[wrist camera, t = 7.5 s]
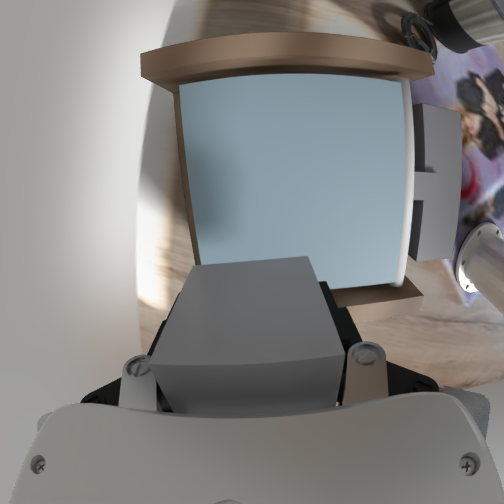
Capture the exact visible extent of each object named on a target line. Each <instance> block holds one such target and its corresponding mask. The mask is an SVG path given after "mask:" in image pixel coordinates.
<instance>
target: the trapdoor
mask: <svg viewBox="0 0 504 504" xmlns="http://www.w3.org/2000/svg"><path fill="white" fill-rule="evenodd" d="M179 90H180V103H181V115H182V126H183V136H184V145H185V155H186V163H187V172H188V180H189V187H190V195H191V202H192V209H193V216H194V223H195V229H196V236H197V242H198V248H199V254H200V260H201V265H207V264H219V263H231V262H243V261H254V260H266V259H277V258H288V257H300V256H308V258H309V260H310V262H311V265H312V267H313V270H314V272H315V275H316V277H317V280H318V282H320V281H326V282H327V284H328V286H329V288H330V289H339V288H349V287H359V286H368V285H377V284H385V283H388V284H389V285H391V286H393V287H401V286H402V285H403V280H404V274H405V269H406V262H407V256H408V255H409V256H410V257H412V258H413V259H414V260H415V261H416V262H418V261H428V260H437V259H445V258H452V254H453V249H454V243H455V237H456V231H457V224H458V216H459V207H460V196H461V182H462V125H461V112H457V111H453V110H449V109H445V108H441V107H437V106H432V105H428V104H423V103H422V104H415V105H412V100H411V91H410V83H409V79H407V78H403V77H395V78H392V81H387V80H380V79H373V78H365V77H356V76H345V75H330V74H266V75H251V76H239V77H230V78H222V79H214V80H207V81H201V82H195V83H189V84H184V85H179Z"/></svg>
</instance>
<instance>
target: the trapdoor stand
mask: <svg viewBox="0 0 504 504" xmlns="http://www.w3.org/2000/svg"><path fill="white" fill-rule="evenodd" d="M140 55H141V77H143V78H145V79H147V80H149V81H151V82H153V83H155V84H157V85H159V86H161V87H163V88H165V89H167V90H169V91H170V92H172V93H173V95H174V108H175V119H176V130H177V140H178V149H179V158H180V166H181V174H182V182H183V189H184V196H185V203H186V210H187V217H188V223H189V230H190V236H191V242H192V248H193V253H194V259H195V265H201V260H200V254H199V248H198V242H197V236H196V229H195V223H194V216H193V209H192V202H191V195H190V187H189V180H188V172H187V163H186V155H185V145H184V136H183V126H182V115H181V103H180V90H179V85H184V84H189V83H195V82H201V81H207V80H214V79H222V78H230V77H239V76H251V75H266V74H330V75H345V76H356V77H365V78H373V79H380V80H387V81H392V78H395V77H403V78H407V79H409V82H411V81H414V80H417V79H421V78H424V77H428V76H431V75H435V73H434V67H433V62H432V56H431V53H428V52H425V51H421V50H418V49H414V48H410V47H407V46H402V45H398V44H394V43H389V42H384V41H379V40H374V39H368V38H362V37H355V36H347V35H338V34H327V33H311V32H264V33H248V34H237V35H228V36H220V37H213V38H206V39H200V40H195V41H190V42H185V43H180V44H175V45H171V46H167V47H163V48H159V49H155V50H152V51H148V52H145V53H141V54H140ZM330 290H331V293H332V295H333V297H334V300H335V302H336V304H337V306H338V308H339V307H347V309H348V311H349V313H350V315H351V317H352V319H353V321H354V324H355V323H362V322H369V321H376V320H382V319H388V318H394V317H400V316H405V315H411V314H416V313H419V312H420V308H421V304H422V300H423V296H424V295H423V294H422V293H421V292H420V291H419V290H418V289H417V288H416V287H415V285H414V284H413V283H412V282H411V281H410V280H409V279H408V278H407V277H406V276H405V275H404V280H403V285H402V286H401V287H393V286H391V285H389V284H388V283H385V284H377V285H368V286H359V287H349V288H339V289H330Z"/></svg>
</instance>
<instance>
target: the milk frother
mask: <svg viewBox="0 0 504 504" xmlns="http://www.w3.org/2000/svg"><path fill="white" fill-rule="evenodd" d="M425 17H426V20H425V19H424V18H422V17H421V16H419V15H418V14H415V13H412V12H410V13H405V14H404V15H403V16H402V19H401V28H402V33H403V36H404V40H405V42H406V45H407V47H410V48H414V49H418V50H421V51H425V52H428V53H431V56H432V62H433V64H434V63H436V62H435V61H436V59H437V46H436V42H435V40H434V37H433V35H432V33H431V31H430V29H431V30H432V32H433V33H434V35H435V36H436V37H437V38H438V39H439V41H440V42H441V43H442V44H443V45H445V46H446V47H447V48H448V49H450V50H452V51H454V52H456V53H460V54H462V53H466V52H467V51H468V50H471V49H474V48H477V47H481V46H485V45H489V44H494V43H499V42H504V0H433V1H432V3H429V4H428V5H427V6H426V7H425ZM424 21H425V22H426V23H428V25H429V27H430V29H429V27H428V26H427V25H426V23H425V22H424ZM412 22H415V23H417V24H418V25H419V26H420V27H421V28H422V29H423V31H424V32H425V34H426V36H427V38H428V41H429V45H430V48H429V47H428V46H427V45H426V44H425V43H424V42H423V41H422V40H421V39H418V38H417V37H416V35H415V34H414V33H412V31H411V24H412Z"/></svg>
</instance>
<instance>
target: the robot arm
mask: <svg viewBox="0 0 504 504" xmlns="http://www.w3.org/2000/svg"><path fill="white" fill-rule="evenodd" d="M456 278H457V282H458V284H459V285H460V287H461V288H462V289H464V290H465V291H467V292H475V291H479V292H480V293H481V294H482V295H483V296H485V297H486V298H487V299H488V300H489V301H490V302H491V303H492V304H493V305H494V306H495V307H496V308H497V309H498V310H499V311H500V312H501V313H502V314H503V315H504V240H503V236H502V233H501V231H500V229H499V228H498V227H497V226H496V225H494V224H493V223H490V222H484V223H481V224H479V225H478V226H476V227H475V228H474V229H473V230H472V231H471V232H470V233H469V235H468V236H467V238H466V239H465V241H464V243H463V245H462V247H461V249H460V252H459V255H458V258H457V263H456ZM319 285H320V287H321V290H322V293H323V295H324V298H325V300H326V303H327V306H328V308H329V311H330V313H331V316H332V319H333V322H334V324H335V327H336V330H337V332H338V335H339V338H340V341H341V344H342V346H343V349H344V352H345V358H344V365H343V370H342V376H341V381H340V387H339V392H338V397H337V402H338V406H336V407H329V408H323V409H315V410H307V411H298V412H288V413H275V414H257V415H200V414H182V413H174V412H173V410H172V408H171V407H170V405H169V403H168V401H167V399H166V398H165V396H164V394H163V392H162V390H161V388H160V386H159V384H158V382H157V380H156V378H155V376H154V374H153V372H152V370H151V368H150V366H149V364H148V363H149V361H150V359H151V356H152V354H153V352H154V349H155V347H156V345H157V343H158V340H159V338H160V336H161V334H162V331H163V329H164V327H165V325H166V322H167V320H168V318H169V316H170V314H171V311H172V309H173V307H174V305H175V303H176V301H177V299H178V296H179V294H180V293H179V294H178V296H177V298H176V300H175V302H174V304H173V306H172V309H171V311H170V313H169V315H168V317H167V319H166V320H164V321H163V322H162V324H161V326H160V328H159V330H158V332H157V334H156V337H155V339H154V341H153V343H152V345H151V348H150V350H149V352H148V354H147V355H138V356H135V357H133V358H131V359H129V360H128V361H127V362H126V363H125V365H124V367H123V371H122V377H121V378H119V379H117V380H115V381H113V382H111V383H109V384H108V385H105V386H103V387H101V388H99V389H97V390H95V391H93V392H91V393H89V394H88V395H87V396H85V397H84V398H83V399H82V401H81V402H80V403H76V404H70V405H65V406H61V407H59V408H57V409H56V410H54V411H53V412H50V413H48V414H45V415H44V416H42V417H41V418H40V419H39V421H38V426H37V429H38V433H37V435H36V437H35V439H34V441H33V443H32V445H31V447H30V449H29V451H28V453H27V456H26V458H25V460H24V463H23V465H22V468H21V470H20V473H19V475H18V478H17V481H16V483H15V486H14V490H13V493H12V496H11V500H10V503H9V504H504V492H503V488H502V484H501V480H500V477H499V474H498V472H497V469H496V466H495V463H494V461H493V458H492V456H491V453H490V451H489V449H488V446H487V444H486V441H485V440H486V434H487V428H488V421H489V414H490V403H489V400H488V399H487V398H486V397H485V396H484V395H482V394H479V393H474V392H469V391H465V390H461V389H456V388H452V387H448V386H443V388H440V387H438V385H437V383H436V382H435V381H434V380H433V379H432V378H430V377H428V376H425V375H422V374H419V373H417V372H414V371H411V370H409V369H406V368H404V367H401V366H398V365H396V364H393V363H391V362H388V361H386V355H385V351H384V350H383V348H382V347H381V346H379V345H378V344H376V343H373V342H367V341H366V342H363V341H362V339H361V337H360V334H359V332H358V330H357V328H356V326H355V324H354V321H353V319H352V317H351V315H350V313H349V311H348V309H347V307H339V308H338V306H337V304H336V302H335V300H334V297H333V295H332V293H331V290H330V288H329V286H328V284H327V282H326V281H320V282H319Z"/></svg>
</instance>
